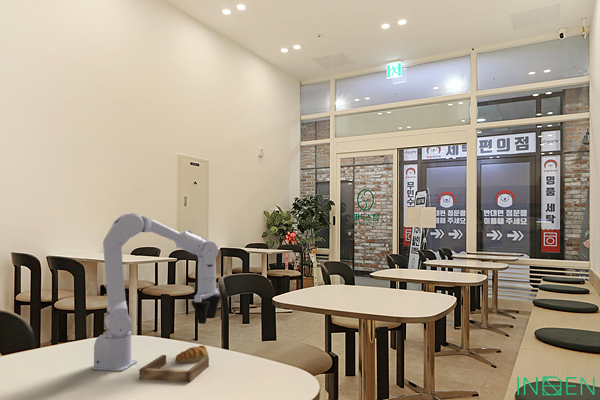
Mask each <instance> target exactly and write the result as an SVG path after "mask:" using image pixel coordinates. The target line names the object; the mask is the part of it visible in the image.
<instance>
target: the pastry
mask: <svg viewBox="0 0 600 400" xmlns="http://www.w3.org/2000/svg"><path fill="white" fill-rule="evenodd" d="M204 357H209V352H208V349H207V347H206V346H205V345H199V346H192V347H189V348H187V349H185V350H183V351H181V352H180V353H178V354H176V356H175V360H174V361H175V363H178V364H181V365H182V364H183V365H185V364H193V363H198V362H199V361H201V360H202V359H203V358H204ZM209 358H210V357H209Z"/></svg>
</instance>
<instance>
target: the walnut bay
mask: <svg viewBox="0 0 600 400" xmlns="http://www.w3.org/2000/svg"><path fill="white" fill-rule="evenodd" d="M166 364H167V354H161V355H160V356H159V357H157V358H156V359H154V360H152V361H151V362H149V363H146V365H144V366H142V367H141V368H139V370H138V371H139V373H138V376H139V377H138V380H144V381H145V380H148V381H163V382H164V381H166V382H179V383H181V382H182V383H191V382H192V381H194V380H195V379H196V378H197V377H198V376H199V375H200V374H202V373H203V372H204V371H205V370H206V369H208V367H209V365H210V357H204V358H203V359H202V360H201V361H199V362H196V363H195V364H194V365H193V366H192V367H191V368H189V369H188V370H187V369H186V370H184V369H183V370H182V369H169V368H168V369H166V368H165V369H164V368H162V367H164V366H165V365H166Z"/></svg>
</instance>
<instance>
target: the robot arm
mask: <svg viewBox="0 0 600 400" xmlns="http://www.w3.org/2000/svg"><path fill="white" fill-rule="evenodd" d="M111 225H112V226H111V227H110V229H109V230H108V232H107V234H106V236H105V237H104V238H103V241H102V245H103V247H102V248H103V257H104V273H105V284H106V297H107V303H106V304H107V305H106V314H105V317H104V322H103V323H104V325H105V327H106V328H107V329H106V331H105V332H104V333H103V334H100V335H99V336H97V338H96V340H94V341H95V342H94V345H93V366H92V368H91V370H95V371H96V370H100V371H115V372H122V371H124V370H126V369H128V368H129V367H131V366H133V365H135V364H136V363H138V360H137V359H136V360H135V359H132V331H131V330H132V327H133V321H132V318H131V317H130V315H129V312H128V311H129V310H128V305H127V302H126V301H127V300H126V290H125V277H124V263H123V253H122V252H123V251H122V250H123V249H122V247H123V246H124V245H125V244H126V243H127V242H128V241H129V240H130V239H131V238H133V237H135V236H137V235H138V234H140V233H153V234H155V235H159V236H161V237H164V238H166V239H168V240H171V241H173V242H174V243H175V245H176V248H178V249H181V250H183V251H186V252H189V253H190V254H193V255H196V256H197V259H198V261H197V262H198V263H197V292H196V294H195V295H194V300H191V306H192V307H193V309H194V311H195V314H196V319H197V322H198V324H200V325H204V324H205V325H206V323H207V318H208V319H215V318H216V315H217V309H218V306H219V303H220V301H221V299H222V295H221V294H220V291H219V288H218V287H217V262H216V261H217V259H216V258H217V257H218V255H219V252H220V251H219V250H220V249H219V248H218V245H217V244H216V243H215V242H213V241H208V240H206V239H207V237H204V236H202V237H200V236H198V235H196V234H195V233H194V232H193V231H192V230H190V229H189V230H185V229H184V230H182V231H178V230H176V229H173V228H171V227H169V226H168V225H165V224H164V223H162V222H159V221H157V220H155V219H154V218H153V219H152V218H151V217H147V216H143V215H140V214H138V213H133V212H132V213H125V214H123V215H122V214H121V216H119V217H118V218H117V219H115V221H113V223H112V224H111Z"/></svg>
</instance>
